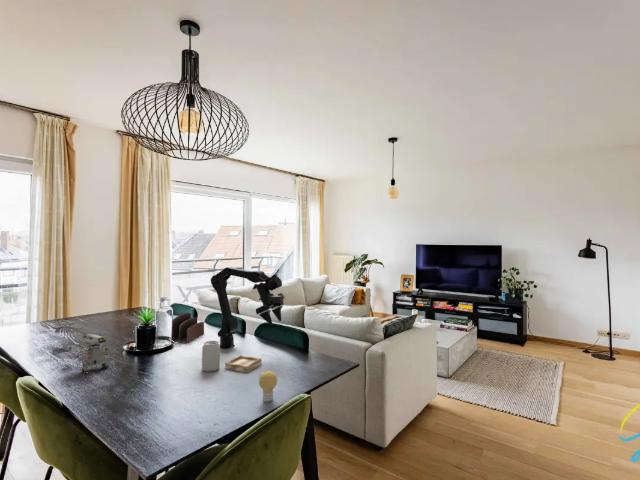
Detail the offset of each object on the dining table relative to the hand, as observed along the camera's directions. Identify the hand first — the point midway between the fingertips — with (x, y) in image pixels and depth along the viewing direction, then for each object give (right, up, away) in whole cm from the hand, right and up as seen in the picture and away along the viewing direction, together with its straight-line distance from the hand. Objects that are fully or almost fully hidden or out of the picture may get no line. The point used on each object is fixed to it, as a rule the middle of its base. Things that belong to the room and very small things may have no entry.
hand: (276, 322), depth 173 cm
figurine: (-77, -15, -23) cm, 82 cm away
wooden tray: (-13, -15, -17) cm, 27 cm away
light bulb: (+4, -16, -51) cm, 53 cm away
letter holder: (-55, -16, +27) cm, 63 cm away
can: (-26, -15, -22) cm, 37 cm away
